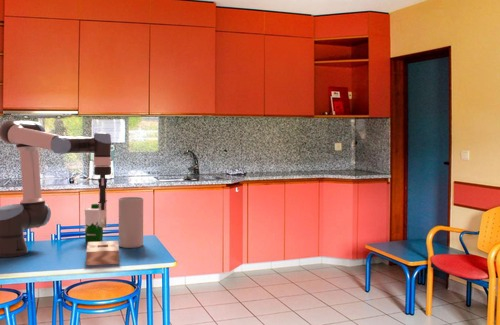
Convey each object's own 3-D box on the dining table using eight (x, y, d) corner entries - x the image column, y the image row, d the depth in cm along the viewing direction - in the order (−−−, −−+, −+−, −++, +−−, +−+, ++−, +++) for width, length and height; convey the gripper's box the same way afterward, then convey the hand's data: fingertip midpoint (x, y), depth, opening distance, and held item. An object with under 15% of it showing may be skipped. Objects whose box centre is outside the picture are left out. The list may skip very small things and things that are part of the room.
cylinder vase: (141, 242, 272) (141, 196, 270) (144, 247, 260) (144, 199, 259) (117, 244, 267) (117, 197, 266) (120, 249, 256) (120, 200, 254)
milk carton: (104, 239, 278) (104, 203, 277) (98, 243, 269) (98, 206, 268) (89, 239, 278) (88, 203, 278) (82, 242, 269) (82, 205, 269)
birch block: (86, 265, 222) (86, 252, 222) (88, 254, 243) (88, 242, 243) (118, 263, 226) (118, 250, 226) (117, 252, 247) (117, 240, 247)
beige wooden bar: (99, 227, 232) (99, 192, 231) (99, 226, 235) (99, 192, 234) (106, 226, 233) (106, 192, 232) (106, 225, 236) (106, 191, 235)
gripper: (111, 167, 226) (111, 218, 227) (110, 165, 242) (111, 213, 243) (93, 167, 224) (93, 219, 225) (94, 165, 239) (94, 214, 241)
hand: (102, 216), depth 234 cm, fingers closed on beige wooden bar, 3 cm apart
